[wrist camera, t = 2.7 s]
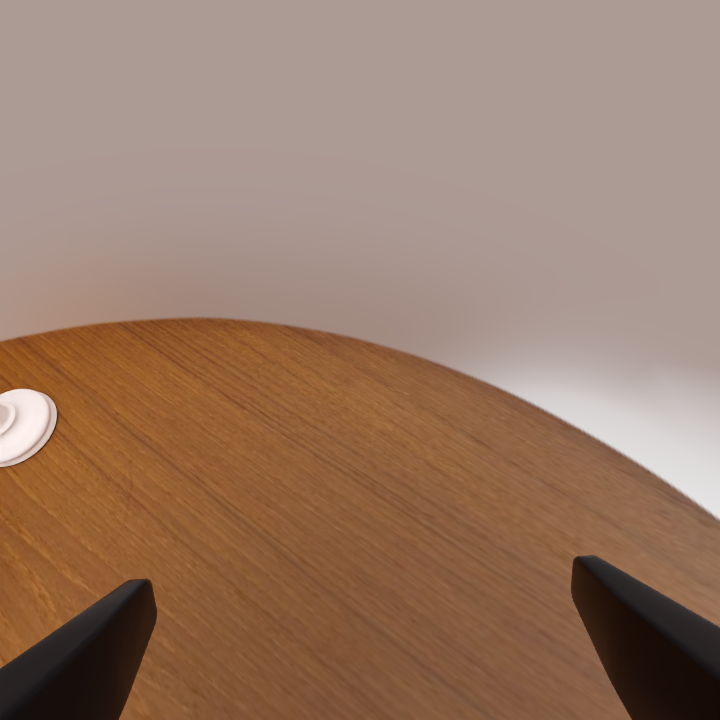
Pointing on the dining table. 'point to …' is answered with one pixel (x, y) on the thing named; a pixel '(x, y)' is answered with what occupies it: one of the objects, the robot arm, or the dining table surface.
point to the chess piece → (24, 424)
